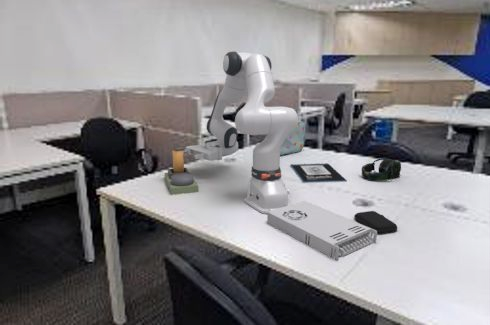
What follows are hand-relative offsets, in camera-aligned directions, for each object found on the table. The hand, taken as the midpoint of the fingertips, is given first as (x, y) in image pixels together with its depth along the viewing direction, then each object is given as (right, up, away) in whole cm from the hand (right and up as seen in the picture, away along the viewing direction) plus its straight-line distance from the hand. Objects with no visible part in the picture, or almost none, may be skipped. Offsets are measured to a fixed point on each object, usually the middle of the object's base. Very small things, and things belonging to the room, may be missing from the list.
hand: (188, 155), depth 184 cm
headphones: (+96, -11, +6) cm, 97 cm away
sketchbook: (+65, -10, +13) cm, 67 cm away
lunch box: (+53, +2, +55) cm, 77 cm away
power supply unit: (+53, -28, -53) cm, 80 cm away
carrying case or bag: (+75, -26, -47) cm, 92 cm away
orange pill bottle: (-4, -10, -2) cm, 11 cm away
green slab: (-3, -14, -6) cm, 15 cm away
